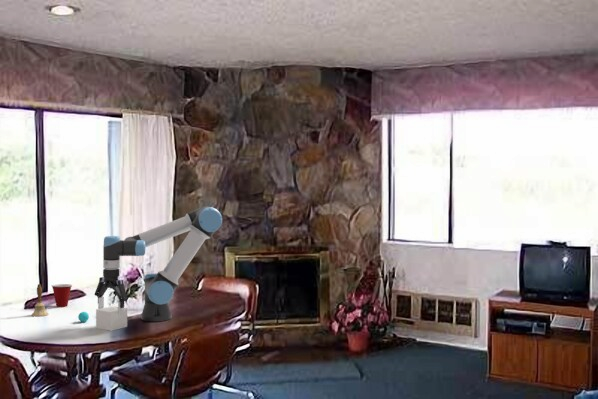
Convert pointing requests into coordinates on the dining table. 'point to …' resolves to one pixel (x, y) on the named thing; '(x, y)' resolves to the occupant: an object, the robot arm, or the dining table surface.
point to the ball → (83, 316)
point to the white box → (110, 318)
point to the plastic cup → (61, 294)
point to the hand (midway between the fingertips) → (110, 312)
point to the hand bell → (39, 304)
